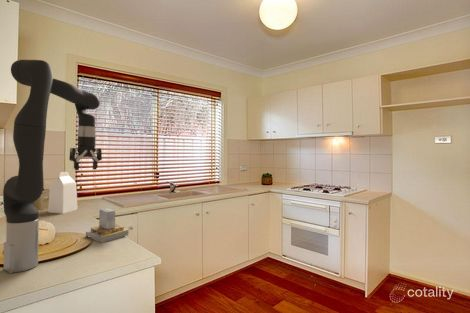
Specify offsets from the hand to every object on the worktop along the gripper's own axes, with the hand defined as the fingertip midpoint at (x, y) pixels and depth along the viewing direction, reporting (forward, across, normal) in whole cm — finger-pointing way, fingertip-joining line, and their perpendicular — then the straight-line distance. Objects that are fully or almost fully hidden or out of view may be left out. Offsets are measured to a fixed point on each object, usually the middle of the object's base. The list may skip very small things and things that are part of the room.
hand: (86, 169), depth 129 cm
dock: (+33, +8, -6) cm, 35 cm away
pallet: (+31, +8, -6) cm, 32 cm away
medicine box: (+29, +8, -6) cm, 31 cm away
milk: (+33, +19, +62) cm, 73 cm away
